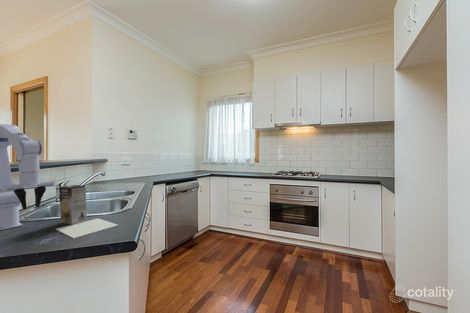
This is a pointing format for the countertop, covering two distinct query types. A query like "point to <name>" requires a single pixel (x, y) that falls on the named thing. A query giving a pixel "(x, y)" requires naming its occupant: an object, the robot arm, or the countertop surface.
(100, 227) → the mat
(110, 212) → the countertop surface
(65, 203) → the coffee box
